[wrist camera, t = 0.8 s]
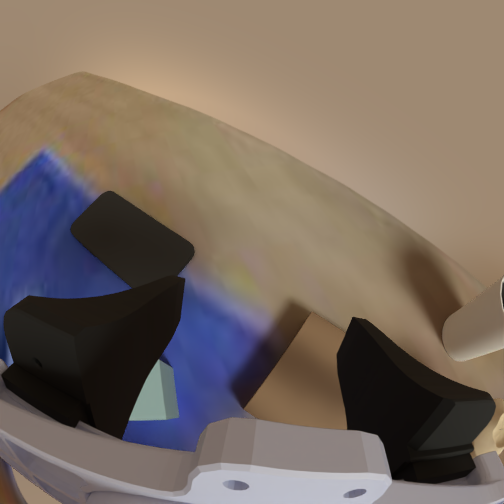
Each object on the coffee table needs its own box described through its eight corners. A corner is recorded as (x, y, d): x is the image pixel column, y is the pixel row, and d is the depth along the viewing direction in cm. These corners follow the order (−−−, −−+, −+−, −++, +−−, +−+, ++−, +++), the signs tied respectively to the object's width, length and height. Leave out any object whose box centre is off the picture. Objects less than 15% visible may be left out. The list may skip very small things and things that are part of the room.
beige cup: (443, 369, 24) (509, 345, 15) (434, 311, 27) (492, 271, 19) (481, 360, 24) (542, 333, 16) (472, 308, 28) (526, 271, 19)
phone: (151, 303, 26) (66, 229, 30) (153, 306, 27) (69, 233, 30) (199, 247, 29) (108, 187, 33) (200, 251, 30) (110, 191, 34)
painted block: (179, 417, 22) (166, 419, 17) (131, 418, 21) (109, 420, 17) (172, 368, 24) (159, 359, 20) (126, 371, 23) (104, 362, 19)
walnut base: (334, 462, 20) (346, 467, 18) (242, 408, 23) (243, 409, 20) (387, 373, 25) (402, 368, 22) (304, 321, 27) (312, 311, 25)
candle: (411, 422, 22) (481, 417, 13) (450, 399, 22) (518, 383, 14) (422, 466, 19) (489, 475, 10) (459, 441, 20) (526, 436, 11)
